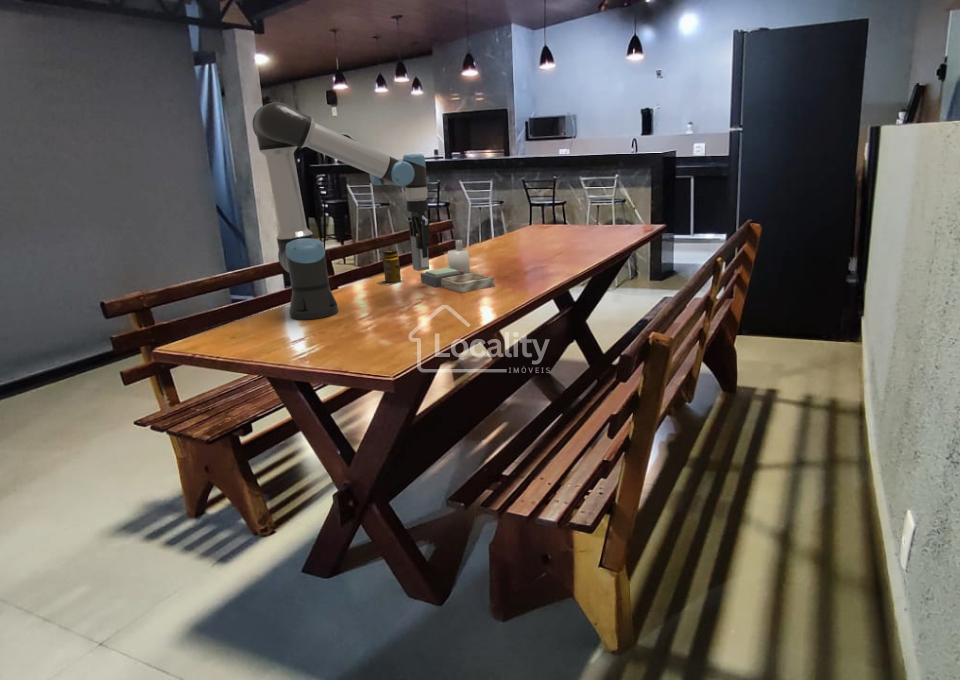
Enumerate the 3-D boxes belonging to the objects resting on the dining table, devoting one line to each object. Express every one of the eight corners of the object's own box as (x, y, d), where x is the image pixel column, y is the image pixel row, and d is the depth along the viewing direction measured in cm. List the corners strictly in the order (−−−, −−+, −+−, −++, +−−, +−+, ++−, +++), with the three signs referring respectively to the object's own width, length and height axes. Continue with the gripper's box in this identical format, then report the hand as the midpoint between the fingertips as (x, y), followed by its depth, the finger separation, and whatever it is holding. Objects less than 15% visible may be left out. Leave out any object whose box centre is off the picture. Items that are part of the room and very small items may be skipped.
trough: (459, 292, 229) (458, 284, 228) (441, 286, 241) (440, 278, 240) (494, 286, 236) (494, 277, 235) (475, 280, 248) (474, 272, 247)
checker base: (435, 287, 241) (434, 275, 240) (421, 282, 251) (419, 271, 250) (465, 281, 246) (464, 270, 245) (449, 277, 257) (448, 266, 256)
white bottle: (455, 276, 257) (452, 243, 253) (446, 274, 263) (443, 241, 260) (473, 273, 260) (471, 240, 257) (464, 271, 267) (461, 238, 263)
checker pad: (436, 278, 242) (436, 274, 242) (425, 275, 250) (425, 271, 249) (458, 274, 246) (458, 270, 246) (447, 271, 254) (447, 267, 253)
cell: (418, 270, 238) (415, 234, 235) (413, 269, 242) (410, 233, 239) (429, 269, 240) (426, 233, 237) (424, 267, 244) (421, 232, 241)
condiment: (405, 281, 256) (402, 250, 253) (388, 285, 251) (384, 253, 247) (394, 279, 261) (391, 248, 258) (376, 283, 256) (372, 252, 252)
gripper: (437, 200, 229) (441, 267, 235) (416, 198, 244) (421, 261, 250) (417, 201, 226) (422, 270, 232) (397, 199, 240) (402, 264, 247)
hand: (421, 265), depth 241 cm, fingers closed on cell, 4 cm apart
